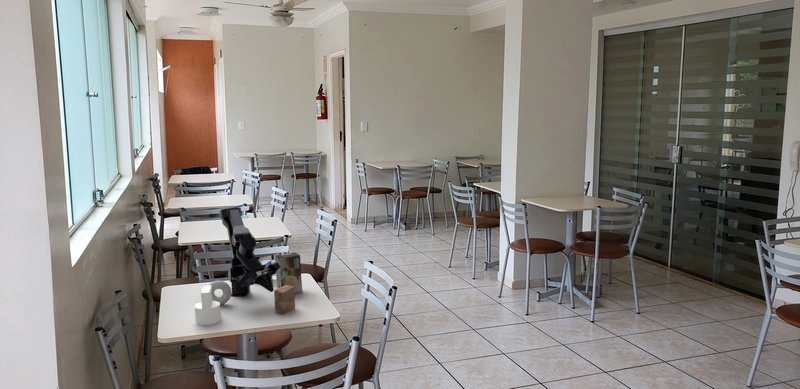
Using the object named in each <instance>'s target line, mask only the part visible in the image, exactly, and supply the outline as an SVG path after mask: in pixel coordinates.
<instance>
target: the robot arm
mask: <svg viewBox="0 0 800 389" xmlns="http://www.w3.org/2000/svg"><path fill="white" fill-rule="evenodd" d="M242 216H243V215H242V208H241V207H240V206H237V205H236V206H229V207H223V208H222V209H220V210H219V219H220V220H221V223H222V225H223V227H225V228H226V229H227V234H228V235H227V236H228V239H229V240H228V241H229V246H230V252H231V257H232V258H231V262H230V265H229V268H228V272H227V275H228V281H229V282H230V283H231V291H232V293H231V297H232V296H233V297H246V296H247V295H248V294H249V293H251V286H254V285H259V286H260V287H263V288H264V289H266V290H267V291H268V292H269V293H274V290H275V289H274V284H273V276H274V275H276V271H277V270H278V269H279V268H280V265H279V264H278V263H276V262H273V263H272V262H271V263H272V264H270V265H269V266H268V267H267V268H266V269H265V267H266V265H265V264H264V265H262V264H261V261H260V259H261V257H260V256H259V255H258V256H256V255H255V253H254V252H255V248H256V246H257V241H256V237H254V235H253V234H252V233H251V231H250V230H249V228H247V227H246V226H245V224H244V222H243V221H244V220H243V218H242Z"/></svg>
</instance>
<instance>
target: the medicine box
mask: <svg viewBox="0 0 800 389" xmlns="http://www.w3.org/2000/svg"><path fill="white" fill-rule="evenodd" d="M260 262H261V264H262V265H264V264H265V265H266V267H265V269H266V268H267V267H268V266H269V265H270V264H272V260H268V259H267V260H265V259H264V260H261V261H260Z"/></svg>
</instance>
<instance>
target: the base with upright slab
mask: <svg viewBox="0 0 800 389" xmlns="http://www.w3.org/2000/svg"><path fill="white" fill-rule="evenodd" d="M208 285H209V284H208ZM208 285H202V289H201V292H200V296H201V297H200V298H201V299H200V300H201V301H200V302H197V303H196V304H195V305H194V318H195V323H196V325H200V326H210V325H214V324H217V323H219V322H220V321H221V320H222V314H221V305H220V303H219V302H217V301H213V300H212V285H209V286H208Z"/></svg>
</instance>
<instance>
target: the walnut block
mask: <svg viewBox="0 0 800 389" xmlns="http://www.w3.org/2000/svg"><path fill="white" fill-rule="evenodd" d="M273 294H274V295H273V296H274V313H275V314H277V315H286V314H288V313H290V312H292V311H294V310H296V298H295V297H296V296H295V294H296V293H295V292H294V286H288V285H285V286H283V287H281V288H278V289H277V288H276V289H274V291H273Z"/></svg>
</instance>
